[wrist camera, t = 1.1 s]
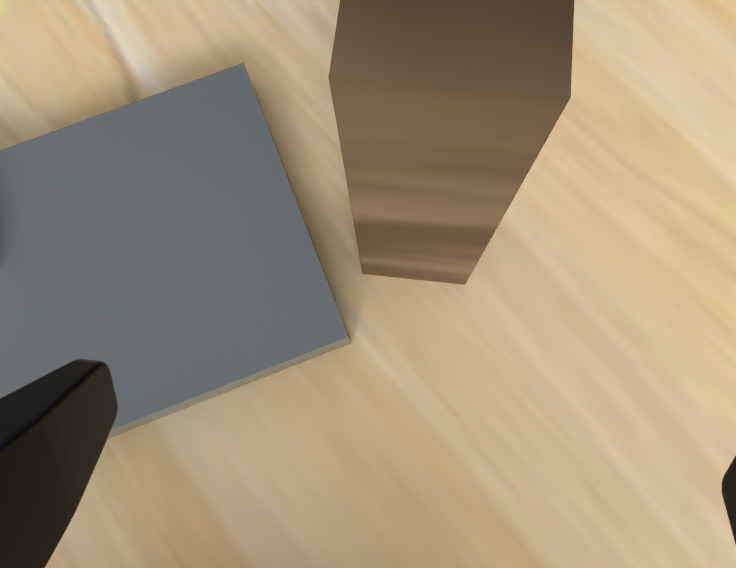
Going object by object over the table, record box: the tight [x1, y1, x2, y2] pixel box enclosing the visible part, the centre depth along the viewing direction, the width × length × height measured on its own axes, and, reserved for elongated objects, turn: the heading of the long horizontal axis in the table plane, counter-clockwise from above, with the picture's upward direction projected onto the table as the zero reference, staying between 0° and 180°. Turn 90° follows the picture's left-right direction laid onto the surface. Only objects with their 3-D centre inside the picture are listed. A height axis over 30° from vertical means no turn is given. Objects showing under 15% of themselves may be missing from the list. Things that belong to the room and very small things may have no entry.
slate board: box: [0, 63, 351, 438], centre depth 22 cm, size 12×16×2 cm
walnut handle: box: [329, 0, 574, 284], centre depth 16 cm, size 4×4×13 cm
